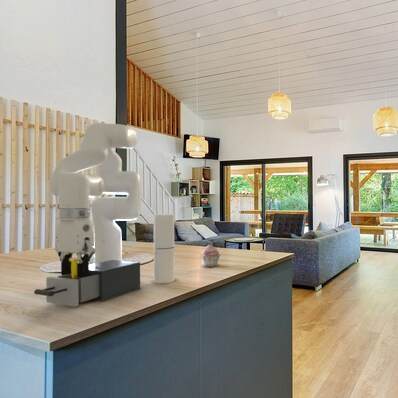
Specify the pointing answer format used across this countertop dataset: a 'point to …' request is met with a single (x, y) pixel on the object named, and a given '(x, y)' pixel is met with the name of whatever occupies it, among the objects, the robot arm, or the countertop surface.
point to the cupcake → (210, 256)
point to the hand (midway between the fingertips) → (75, 274)
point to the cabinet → (116, 277)
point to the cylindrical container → (163, 248)
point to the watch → (74, 267)
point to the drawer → (71, 289)
